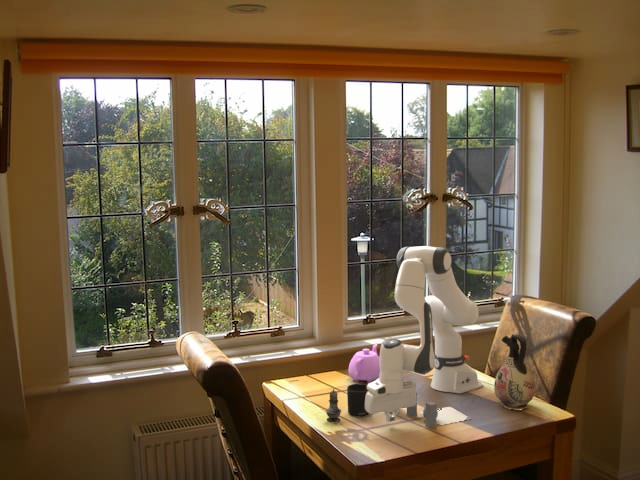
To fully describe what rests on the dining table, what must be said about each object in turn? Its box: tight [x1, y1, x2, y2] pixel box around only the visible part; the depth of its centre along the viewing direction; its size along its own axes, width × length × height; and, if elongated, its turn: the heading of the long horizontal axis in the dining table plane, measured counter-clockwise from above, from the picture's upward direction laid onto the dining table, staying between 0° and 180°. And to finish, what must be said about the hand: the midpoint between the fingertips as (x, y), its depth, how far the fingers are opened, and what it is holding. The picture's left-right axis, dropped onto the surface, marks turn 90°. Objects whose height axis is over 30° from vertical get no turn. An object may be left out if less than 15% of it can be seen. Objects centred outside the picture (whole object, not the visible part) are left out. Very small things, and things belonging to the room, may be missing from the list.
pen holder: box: [346, 383, 371, 418], centre depth 266 cm, size 9×9×10 cm
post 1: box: [406, 392, 418, 418], centre depth 264 cm, size 3×3×9 cm
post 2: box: [424, 401, 437, 430], centre depth 252 cm, size 3×3×9 cm
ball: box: [422, 406, 438, 419], centre depth 259 cm, size 6×6×6 cm
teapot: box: [348, 343, 380, 385], centre depth 306 cm, size 22×16×14 cm
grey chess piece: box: [325, 389, 342, 423], centre depth 259 cm, size 6×6×12 cm
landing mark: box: [419, 406, 468, 426], centre depth 263 cm, size 14×14×1 cm
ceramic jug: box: [493, 334, 536, 410], centre depth 270 cm, size 17×15×30 cm
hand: (390, 421), depth 253 cm, fingers closed
